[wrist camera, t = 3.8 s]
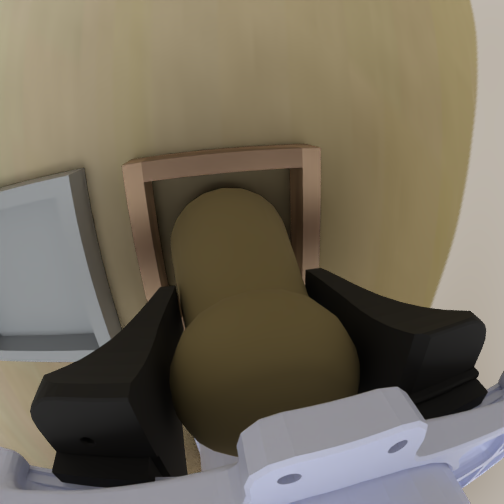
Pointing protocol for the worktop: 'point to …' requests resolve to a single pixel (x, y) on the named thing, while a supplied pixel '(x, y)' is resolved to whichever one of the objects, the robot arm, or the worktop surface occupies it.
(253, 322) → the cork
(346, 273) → the worktop surface
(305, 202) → the wooden square frame
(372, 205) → the worktop surface
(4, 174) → the worktop surface
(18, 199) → the tray
